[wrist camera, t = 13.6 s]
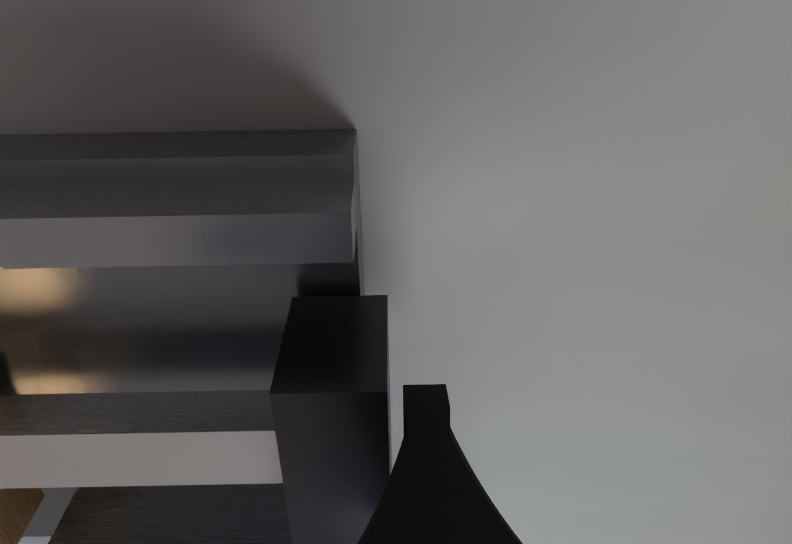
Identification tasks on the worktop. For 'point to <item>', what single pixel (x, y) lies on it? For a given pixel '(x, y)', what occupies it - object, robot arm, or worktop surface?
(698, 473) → the worktop surface
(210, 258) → the press frame
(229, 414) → the press ram
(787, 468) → the worktop surface
